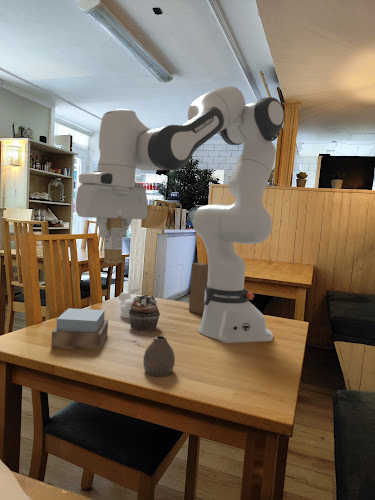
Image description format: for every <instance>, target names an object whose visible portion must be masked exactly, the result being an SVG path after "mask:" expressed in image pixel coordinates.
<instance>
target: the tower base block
mask: <svg viewBox="0 0 375 500" xmlns="http://www.w3.org/2000/svg"><path fill="white" fill-rule="evenodd" d="M108 327H109V319H104V322H103V323H102V325H101V326H100V328H99V329H98V331H97V332H96V333H95V332H77V331H59V330H57V326H56V327H55V328H54V329H53V330H52V331H51V344H50V345H51V349H57V350H58V349H59V350H60V349H61V350H65V349H66V350H92V351H100V350H101V348H102V347H103V344H104V343H105V341H106V338H107V336H108V329H109V328H108Z"/></svg>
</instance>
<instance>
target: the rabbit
mask: <svg viewBox="0 0 375 500" xmlns="http://www.w3.org/2000/svg"><path fill="white" fill-rule="evenodd" d="M140 291H141V288H140V287H136V288H133V289H131V290H130V291H124V292H121V293H120V294H119V295H118V299H119V301H121V302H120V313H119V314H120V317H121V318H124V319H130V318H129V310H130V309H131V305H132V303H133V302H134V299H132V297H131V295H133V294H137V293H139V292H140Z"/></svg>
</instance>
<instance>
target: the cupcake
mask: <svg viewBox="0 0 375 500" xmlns="http://www.w3.org/2000/svg"><path fill="white" fill-rule="evenodd" d="M133 300H134V302H133V303H132V305H131V309H130V310H129V318H128V319H129V324H130V329H131V330H132V331H135V332H145V333H147V332H152V331H155V330H157V326H158V322H159V319H160V316H161V312H160V310H159V309H158V305H157V303H158V300H157V299H156V298H155V297H154V296H148V294H145V295H136V296H135V297H133Z"/></svg>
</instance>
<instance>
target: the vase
mask: <svg viewBox="0 0 375 500" xmlns="http://www.w3.org/2000/svg"><path fill="white" fill-rule="evenodd" d="M175 358H176V357H175V352H174V349H173V348H172V347H171V345H170V344H169V342H168V340H167V337H165V336H164V335H157V336H155V337H154V338H153V340H152V342H151V343H150V344H149V345H148V347H146V350H145V352H144V354H143V363H142V364H143V368H144V371H145V373H146V374H147V375H149V376H152V377H158V378H159V377H161V378H162V377H166V376H170V375H171V373H172V372H173V370H174V367H175V361H176V360H175Z"/></svg>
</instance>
